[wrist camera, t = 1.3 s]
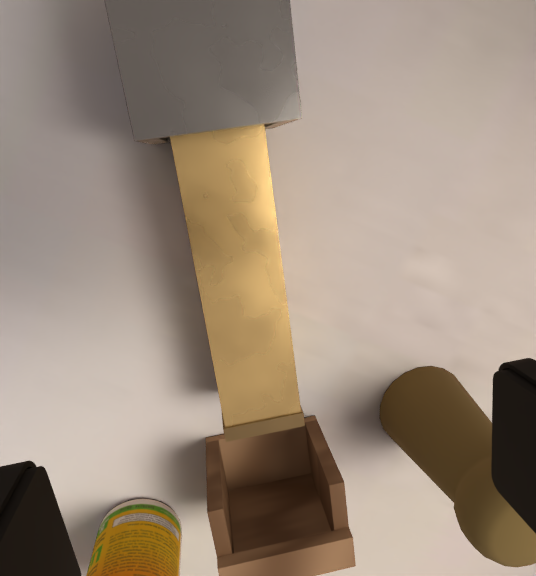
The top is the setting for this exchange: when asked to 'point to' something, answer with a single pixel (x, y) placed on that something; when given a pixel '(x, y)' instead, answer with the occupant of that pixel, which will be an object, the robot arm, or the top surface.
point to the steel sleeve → (205, 65)
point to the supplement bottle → (138, 541)
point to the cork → (456, 459)
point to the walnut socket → (277, 504)
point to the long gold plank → (240, 277)
